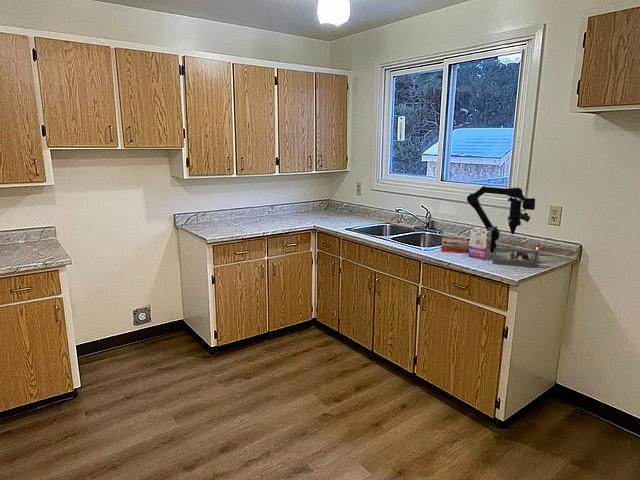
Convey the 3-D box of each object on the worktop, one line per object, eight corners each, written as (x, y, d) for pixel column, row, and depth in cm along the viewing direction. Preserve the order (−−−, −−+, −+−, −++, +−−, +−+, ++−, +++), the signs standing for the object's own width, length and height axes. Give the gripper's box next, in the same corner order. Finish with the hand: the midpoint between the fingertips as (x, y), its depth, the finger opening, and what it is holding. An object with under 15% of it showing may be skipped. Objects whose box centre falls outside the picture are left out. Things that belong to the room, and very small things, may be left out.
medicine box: (441, 252, 262) (441, 239, 260) (441, 249, 269) (441, 236, 268) (466, 253, 258) (467, 241, 256) (466, 250, 265) (466, 238, 264)
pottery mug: (528, 266, 233) (521, 253, 233) (512, 269, 240) (505, 257, 240) (535, 256, 241) (528, 244, 240) (519, 260, 248) (513, 248, 248)
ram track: (532, 262, 237) (532, 261, 237) (530, 256, 250) (530, 255, 250) (539, 263, 236) (539, 262, 236) (537, 257, 249) (537, 256, 248)
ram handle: (533, 260, 238) (535, 243, 235) (532, 259, 240) (534, 242, 238) (539, 261, 237) (541, 243, 234) (538, 260, 239) (540, 242, 237)
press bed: (492, 263, 235) (494, 248, 233) (492, 261, 241) (493, 245, 239) (536, 268, 227) (538, 251, 225) (535, 265, 233) (537, 249, 231)
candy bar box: (489, 258, 245) (492, 231, 242) (485, 260, 242) (488, 232, 239) (472, 255, 254) (474, 228, 250) (467, 256, 251) (470, 229, 247)
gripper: (531, 211, 240) (528, 238, 243) (528, 207, 257) (526, 232, 260) (510, 210, 244) (507, 237, 247) (508, 206, 261) (506, 231, 264)
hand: (512, 234), depth 255 cm, fingers closed
